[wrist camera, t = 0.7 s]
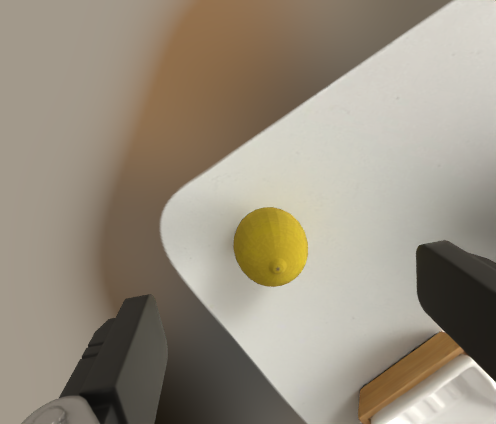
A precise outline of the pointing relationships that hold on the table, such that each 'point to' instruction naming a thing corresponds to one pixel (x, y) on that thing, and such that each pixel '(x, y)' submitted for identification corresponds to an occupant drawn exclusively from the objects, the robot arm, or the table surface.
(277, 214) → the lemon
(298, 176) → the table surface
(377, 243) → the table surface
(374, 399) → the soap dish
